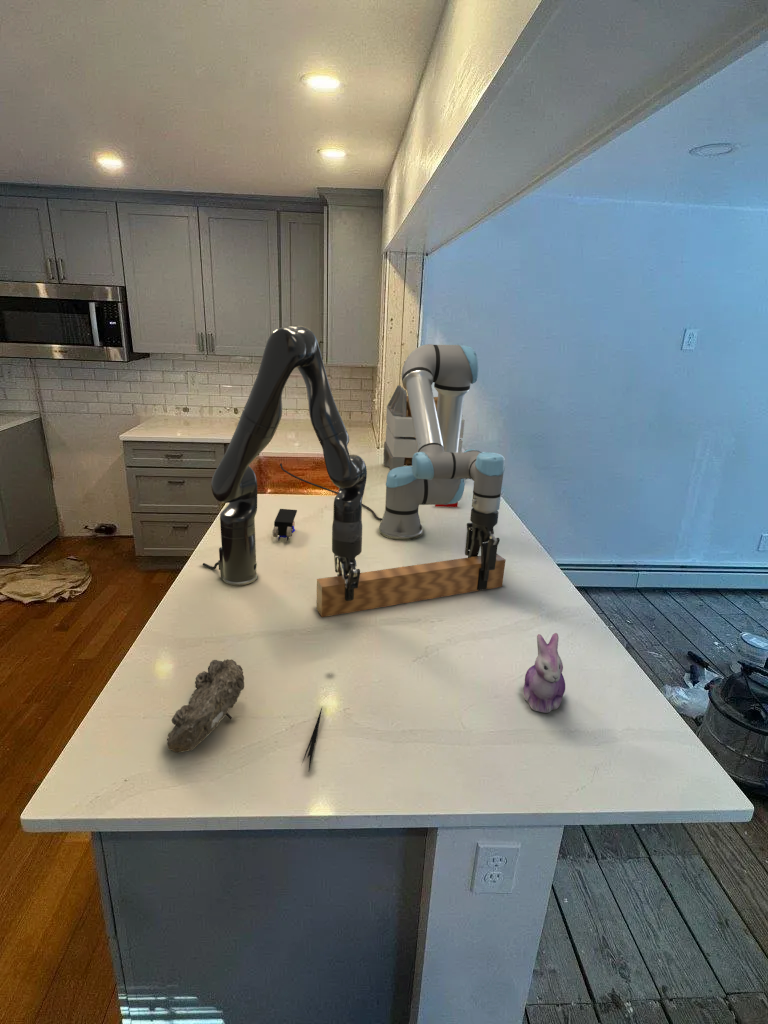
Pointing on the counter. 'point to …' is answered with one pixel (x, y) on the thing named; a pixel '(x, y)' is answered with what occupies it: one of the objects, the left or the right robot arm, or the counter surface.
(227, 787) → the counter surface
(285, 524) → the figurine character
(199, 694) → the fossil
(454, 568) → the beam
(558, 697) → the figurine
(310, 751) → the feather
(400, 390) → the grey and brown box
